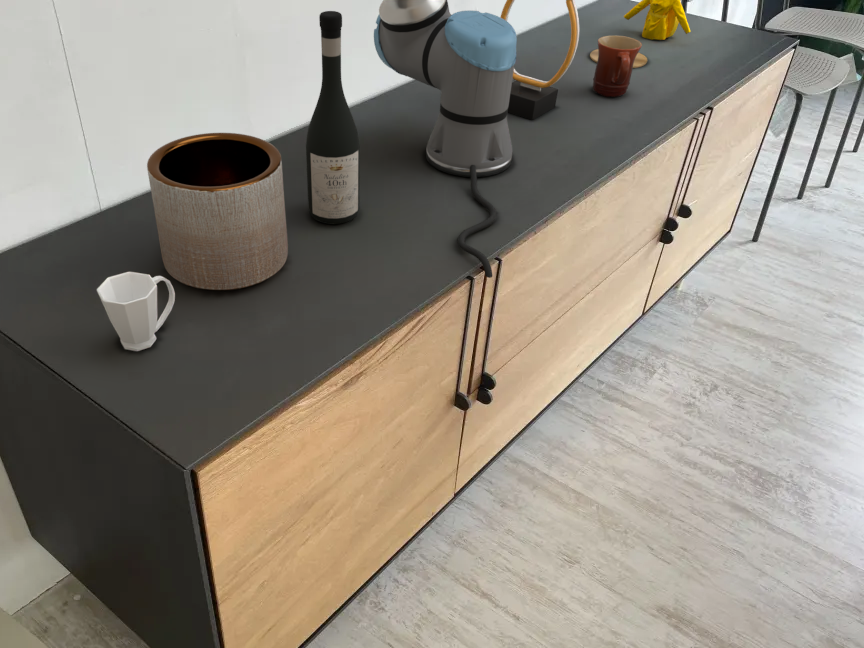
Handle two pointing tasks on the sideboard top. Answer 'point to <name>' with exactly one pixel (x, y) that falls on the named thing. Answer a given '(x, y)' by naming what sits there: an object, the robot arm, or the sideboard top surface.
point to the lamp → (536, 94)
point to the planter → (219, 210)
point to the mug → (614, 65)
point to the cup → (134, 307)
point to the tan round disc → (638, 61)
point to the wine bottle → (332, 138)
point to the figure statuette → (661, 18)
